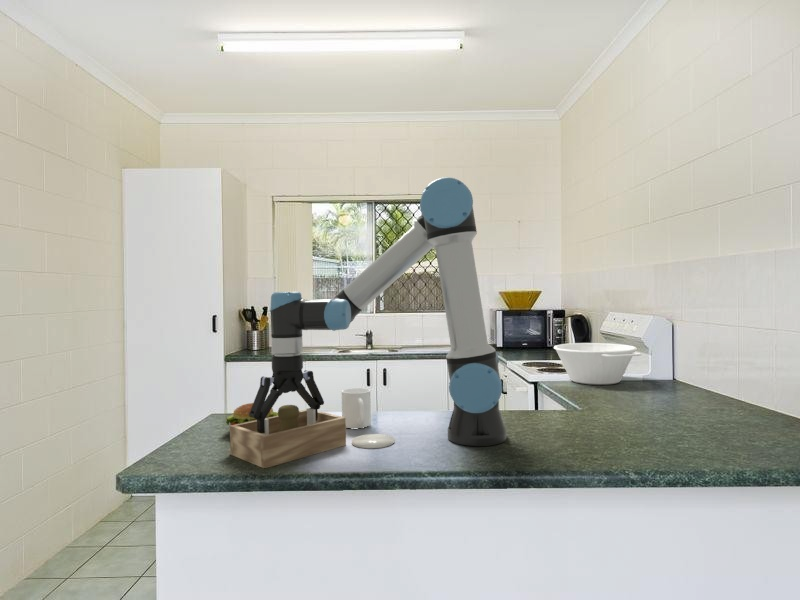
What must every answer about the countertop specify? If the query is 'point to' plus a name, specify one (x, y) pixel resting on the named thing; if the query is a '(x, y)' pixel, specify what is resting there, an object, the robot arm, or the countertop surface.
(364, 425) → the mug
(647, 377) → the countertop surface
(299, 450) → the access box
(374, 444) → the coaster
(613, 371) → the pot
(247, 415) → the food
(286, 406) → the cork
